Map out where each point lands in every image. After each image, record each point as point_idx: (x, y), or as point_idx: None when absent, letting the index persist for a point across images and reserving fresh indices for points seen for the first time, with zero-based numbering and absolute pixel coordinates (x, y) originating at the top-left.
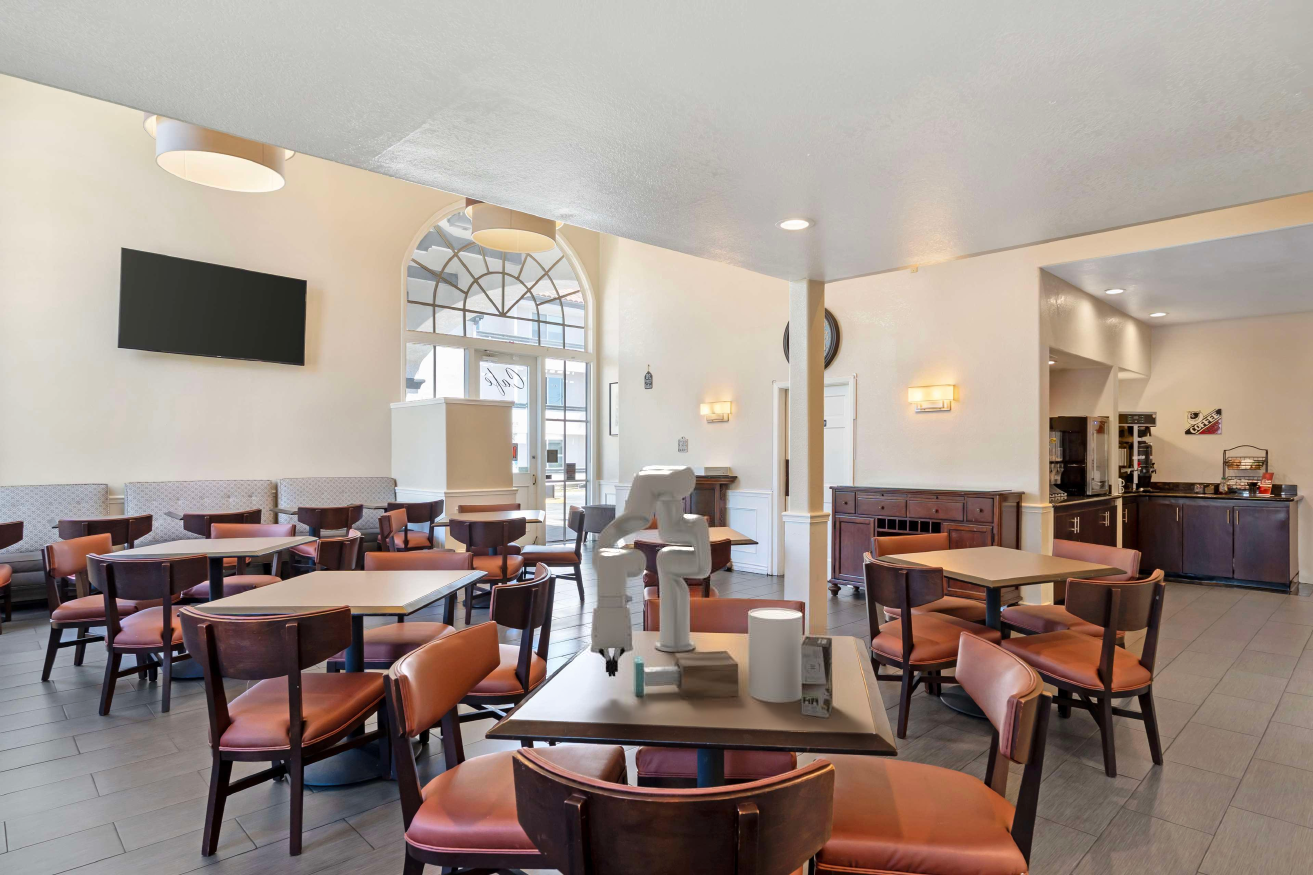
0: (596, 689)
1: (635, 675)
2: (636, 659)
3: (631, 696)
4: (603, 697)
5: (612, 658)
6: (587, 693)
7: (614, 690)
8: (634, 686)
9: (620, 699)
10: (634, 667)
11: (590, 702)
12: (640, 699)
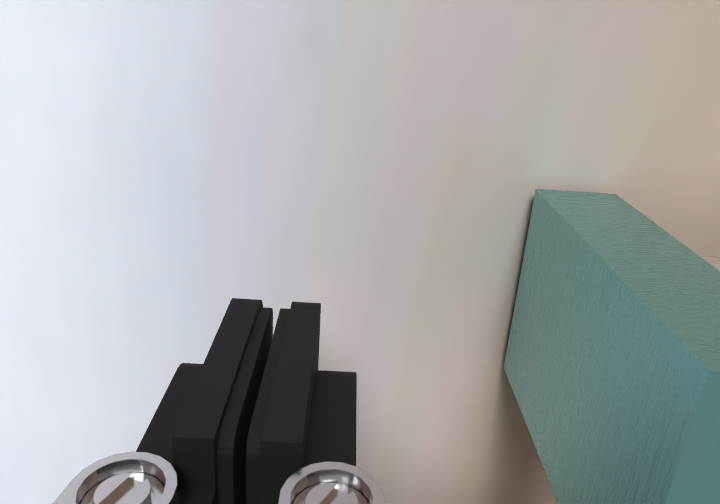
0: (153, 84)
1: (560, 460)
2: (702, 496)
3: (466, 345)
4: (219, 322)
5: (259, 478)
6: (64, 190)
7: (340, 156)
8: (534, 282)
9: (359, 392)
10: (610, 408)
11: (108, 409)
12: (520, 421)
